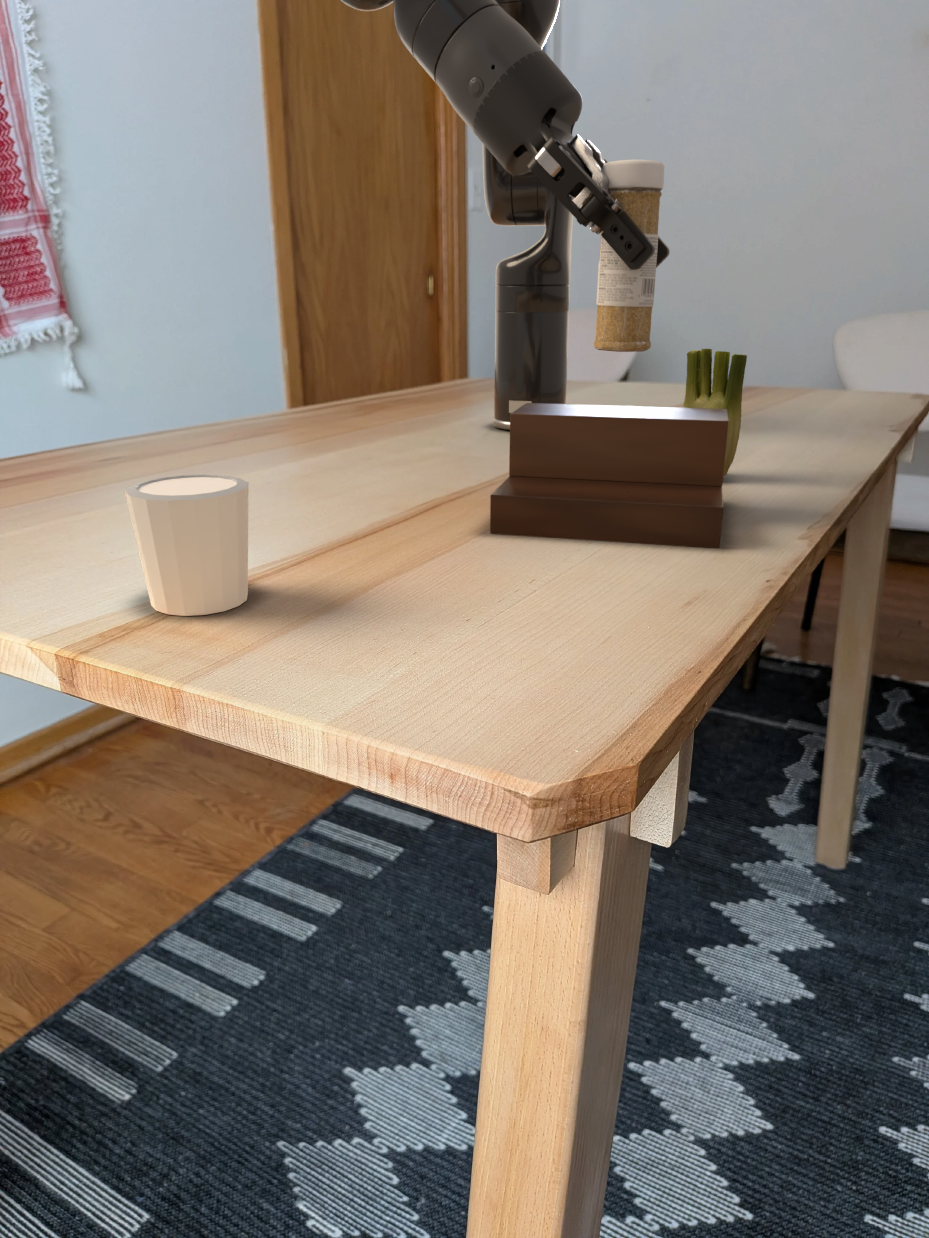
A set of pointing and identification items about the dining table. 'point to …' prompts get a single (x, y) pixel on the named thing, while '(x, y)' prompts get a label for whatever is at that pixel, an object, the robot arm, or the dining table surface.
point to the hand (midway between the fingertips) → (652, 261)
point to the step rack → (614, 474)
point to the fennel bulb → (717, 390)
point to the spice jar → (619, 287)
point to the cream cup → (192, 542)
